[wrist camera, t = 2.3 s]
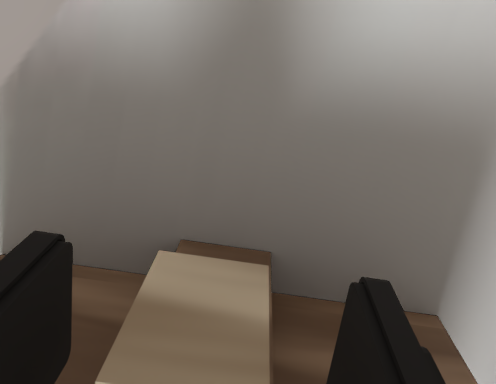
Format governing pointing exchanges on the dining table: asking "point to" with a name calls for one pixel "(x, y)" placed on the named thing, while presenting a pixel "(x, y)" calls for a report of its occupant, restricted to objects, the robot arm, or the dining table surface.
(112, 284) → the toolbox
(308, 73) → the dining table surface
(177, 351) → the wooden key
